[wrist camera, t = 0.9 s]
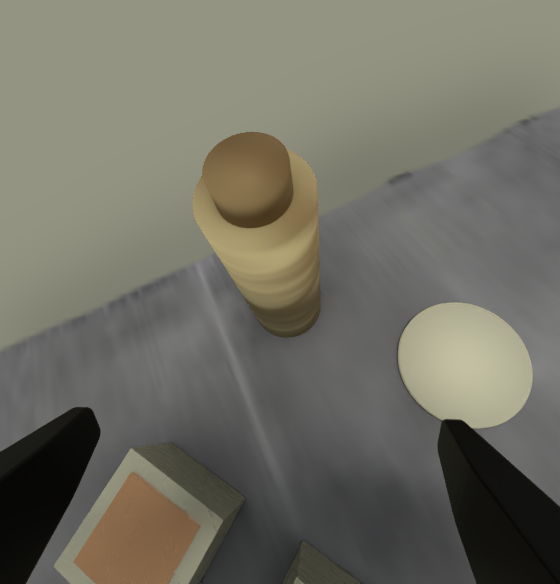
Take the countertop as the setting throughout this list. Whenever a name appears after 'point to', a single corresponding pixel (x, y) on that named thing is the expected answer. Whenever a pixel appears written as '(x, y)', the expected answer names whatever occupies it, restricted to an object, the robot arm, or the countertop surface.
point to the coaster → (464, 365)
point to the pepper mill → (264, 227)
